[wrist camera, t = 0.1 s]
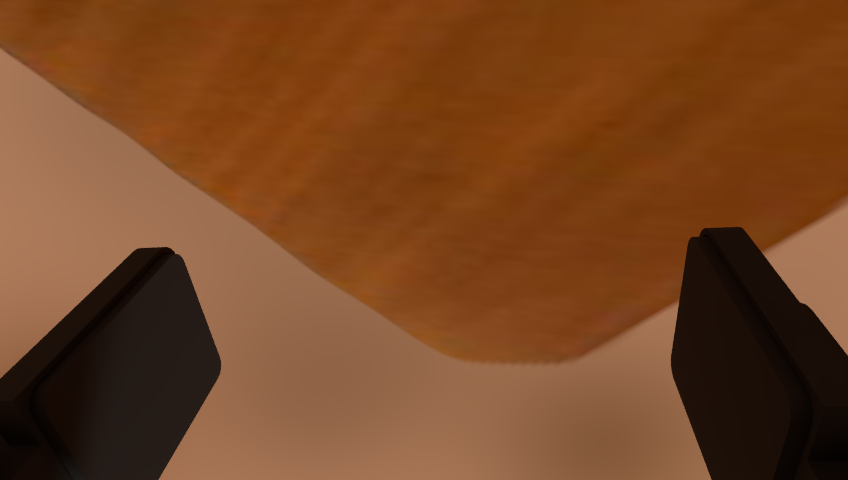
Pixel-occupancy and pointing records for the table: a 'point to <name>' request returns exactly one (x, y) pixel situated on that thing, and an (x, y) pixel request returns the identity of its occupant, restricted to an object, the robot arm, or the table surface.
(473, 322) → the table surface
